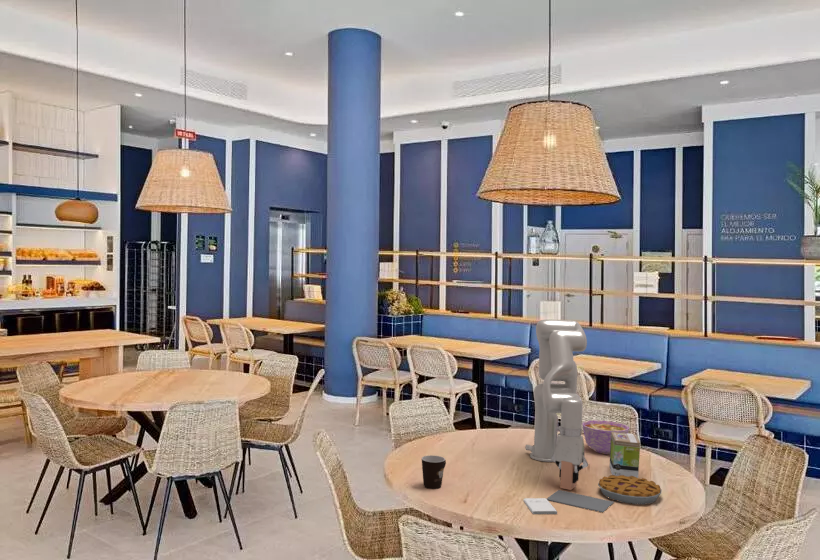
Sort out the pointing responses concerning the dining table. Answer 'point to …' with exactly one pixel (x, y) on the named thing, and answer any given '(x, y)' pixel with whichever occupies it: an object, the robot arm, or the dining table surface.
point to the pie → (629, 489)
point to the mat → (580, 501)
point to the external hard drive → (539, 506)
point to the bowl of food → (601, 434)
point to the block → (567, 475)
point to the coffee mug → (433, 471)
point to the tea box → (624, 454)
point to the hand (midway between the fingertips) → (568, 480)
